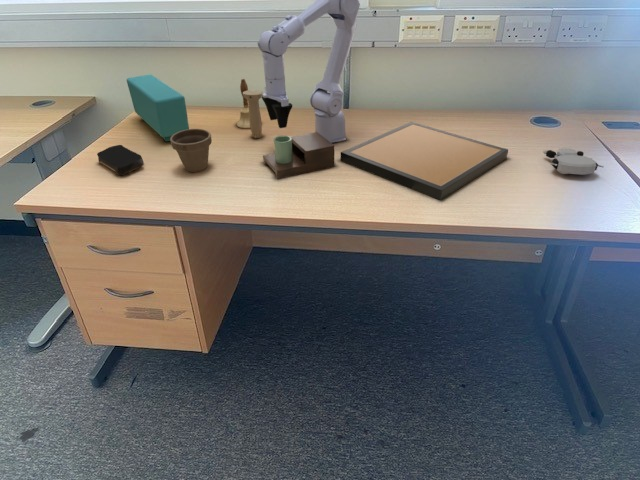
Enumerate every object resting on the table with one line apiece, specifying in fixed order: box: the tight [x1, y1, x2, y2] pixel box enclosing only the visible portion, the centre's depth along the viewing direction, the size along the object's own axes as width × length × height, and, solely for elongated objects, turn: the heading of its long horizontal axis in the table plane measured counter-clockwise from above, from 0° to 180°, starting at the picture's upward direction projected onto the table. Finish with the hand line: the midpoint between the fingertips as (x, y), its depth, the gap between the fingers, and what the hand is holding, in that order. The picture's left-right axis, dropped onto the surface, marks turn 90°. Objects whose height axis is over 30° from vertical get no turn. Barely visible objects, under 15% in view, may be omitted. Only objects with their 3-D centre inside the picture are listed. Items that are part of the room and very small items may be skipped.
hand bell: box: [236, 78, 251, 129], centre depth 161 cm, size 8×8×16 cm
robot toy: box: [542, 147, 604, 176], centre depth 130 cm, size 12×4×15 cm
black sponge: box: [96, 144, 145, 176], centre depth 137 cm, size 16×8×4 cm, turn 46°
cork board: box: [340, 121, 509, 201], centre depth 137 cm, size 36×3×35 cm
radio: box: [126, 73, 190, 142], centre depth 160 cm, size 34×10×15 cm, turn 34°
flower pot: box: [169, 128, 212, 173], centre depth 133 cm, size 12×11×10 cm
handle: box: [242, 89, 264, 139], centre depth 151 cm, size 5×6×15 cm
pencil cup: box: [273, 135, 293, 164], centre depth 132 cm, size 5×5×6 cm
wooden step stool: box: [262, 131, 335, 180], centre depth 135 cm, size 18×12×7 cm, turn 115°
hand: (278, 123), depth 138 cm, fingers open, 7 cm apart
